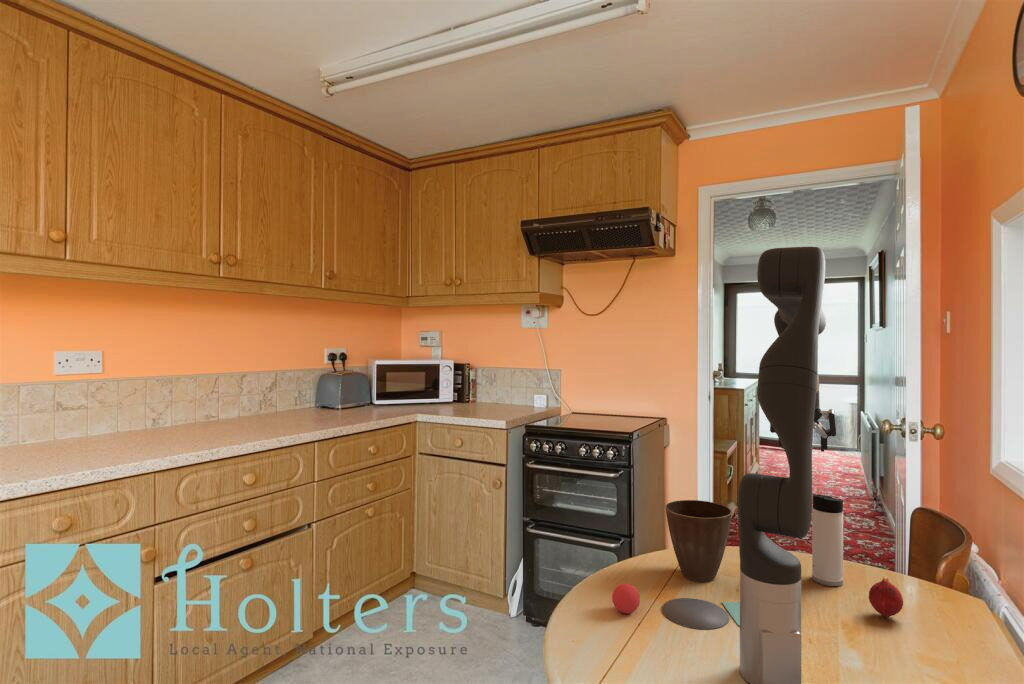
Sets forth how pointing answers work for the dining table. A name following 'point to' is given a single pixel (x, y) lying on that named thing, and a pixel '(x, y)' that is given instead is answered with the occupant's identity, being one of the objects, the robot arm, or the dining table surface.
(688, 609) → the disc
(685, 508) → the plant pot
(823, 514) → the travel mug
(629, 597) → the ball
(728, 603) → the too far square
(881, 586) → the onion
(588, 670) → the dining table surface
